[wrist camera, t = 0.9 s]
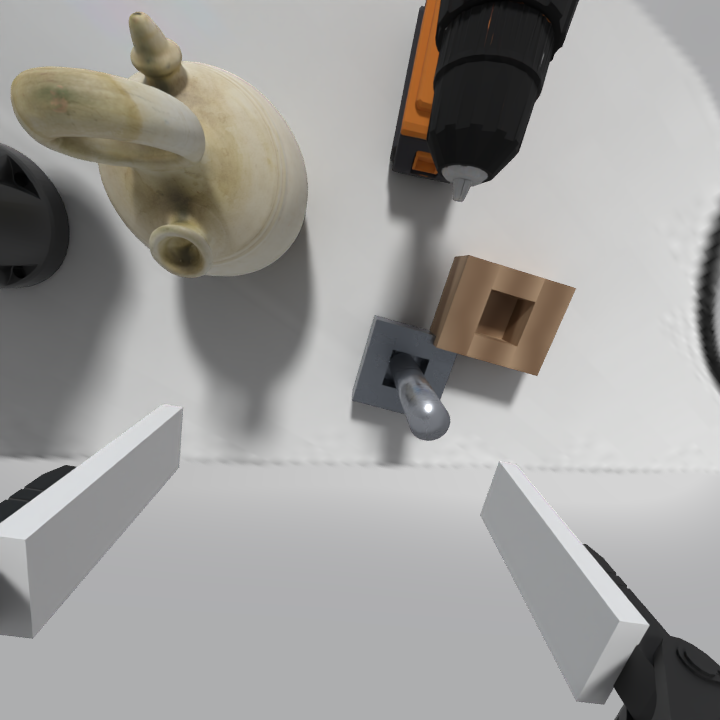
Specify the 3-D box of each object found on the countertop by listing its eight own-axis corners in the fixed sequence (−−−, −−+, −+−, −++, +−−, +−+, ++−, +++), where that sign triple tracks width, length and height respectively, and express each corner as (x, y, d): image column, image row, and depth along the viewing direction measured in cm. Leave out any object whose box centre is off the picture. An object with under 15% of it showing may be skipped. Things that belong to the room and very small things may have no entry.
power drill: (436, 245, 39) (573, 209, 14) (374, 232, 38) (406, 172, 14) (491, 19, 33) (862, -653, 9) (419, 0, 33) (602, -764, 8)
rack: (426, 338, 41) (436, 347, 37) (454, 256, 39) (469, 255, 34) (516, 363, 42) (537, 375, 38) (549, 285, 40) (575, 288, 35)
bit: (385, 373, 42) (404, 435, 27) (393, 349, 41) (417, 398, 26) (410, 380, 42) (442, 444, 27) (418, 356, 41) (455, 409, 26)
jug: (298, 292, 40) (210, 329, 16) (166, 249, 38) (-155, 219, 14) (335, 154, 36) (296, -78, 12) (190, 101, 34) (-190, -287, 10)
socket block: (352, 390, 43) (352, 400, 40) (374, 314, 41) (376, 319, 37) (426, 409, 44) (432, 421, 41) (452, 337, 41) (461, 343, 38)
